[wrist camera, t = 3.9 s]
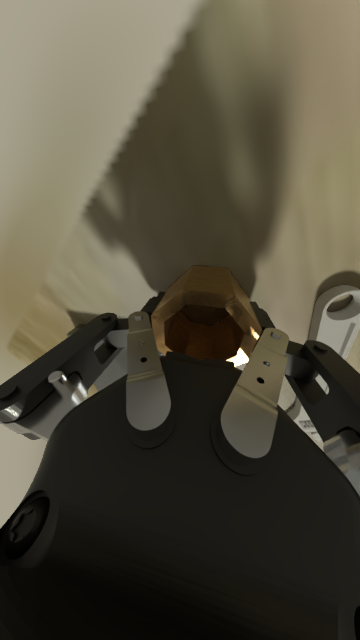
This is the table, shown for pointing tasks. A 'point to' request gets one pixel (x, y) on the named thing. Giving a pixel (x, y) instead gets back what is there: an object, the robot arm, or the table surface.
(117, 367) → the block
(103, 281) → the table surface
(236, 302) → the wooden octagonal ring
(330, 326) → the adjustable wrench
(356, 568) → the robot arm
